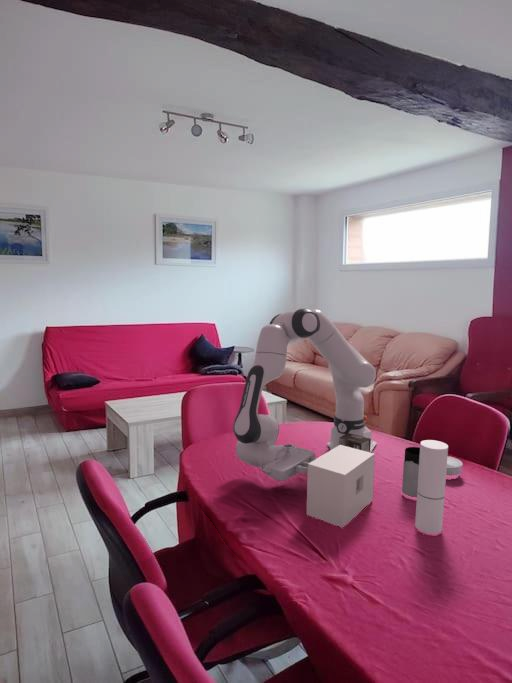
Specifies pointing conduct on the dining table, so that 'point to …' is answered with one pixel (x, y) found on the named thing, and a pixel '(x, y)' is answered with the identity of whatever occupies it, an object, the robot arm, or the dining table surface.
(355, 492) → the box
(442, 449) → the cylindrical container
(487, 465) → the dining table surface
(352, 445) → the coffee box
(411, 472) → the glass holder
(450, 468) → the ramekin
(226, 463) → the dining table surface
